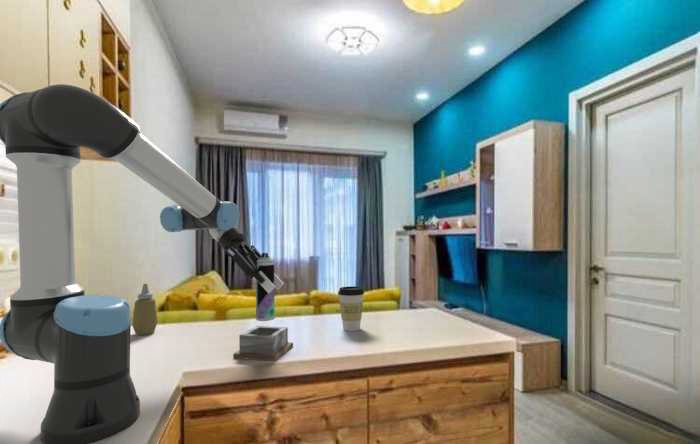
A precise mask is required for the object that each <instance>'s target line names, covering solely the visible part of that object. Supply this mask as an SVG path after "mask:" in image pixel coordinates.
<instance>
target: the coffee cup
mask: <svg viewBox="0 0 700 444" xmlns="http://www.w3.org/2000/svg"><path fill="white" fill-rule="evenodd" d="M337 294H338V296H339V297H338V298H339V308H340V315H341V316H340V317H341V320H342V321H341V322H342V328H343V329H342V330H343V331H346V332H357V331H359V330H360V329H361V321H362V314H363V306H364V305H363V304H364V294H365V291H364V289H363V287H362V286H355V285H354V286H342V287H340V288H339V290H338V291H337Z"/></svg>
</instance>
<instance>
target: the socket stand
mask: <svg viewBox="0 0 700 444" xmlns="http://www.w3.org/2000/svg"><path fill="white" fill-rule="evenodd" d="M288 335H289V334H288V327H287V326H285V327H283V326H267V325H266V326H265V325H264V326H263V325H256V326H254V327H252V328H250V329H247V331H245V332H243V333H240V334H239V335H238V336H239V340H238V341H239V344H238V345H239V346H238V347H239V350H237V351H235V352H234V353H233V355H232V356H233V357H234V358H233V357H232V358H233V359H241V358H248V359H247V360H255V359H260V360H259V361H269V360H270V362H271V361H272V362H276V361H277V360H278V359H279V358H281V357H282V356H283V355H284V354H286V353H288V351H290V350H291V349H292V348H293V347H294V342H288V341H289V340H288V338H289V336H288Z"/></svg>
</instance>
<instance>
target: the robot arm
mask: <svg viewBox="0 0 700 444" xmlns="http://www.w3.org/2000/svg"><path fill="white" fill-rule="evenodd" d="M140 127H141V126H139V124H138V123H137V122H135V121H134V120H133V119H132V118H130V117H129V116H128V115H127V114H126V113H125V112H123V111H122V110H121V109H120V108H118V107H117V106H116V105H114V104H112V103H111V102H109V101H108V100H107V99H104V98H103V97H101V96H100V95H97V94H96V93H95V92H92V91H89V90H88V89H85V88H83V87H79V86H76V85H72V84H62V83H61V84H59V83H58V84H51V85H48V86H45V87H43V88H40V89H36V90H32V91H29V92H27V91H26V92H22V93H19V94H18V93H17V94H13V95H12V96H10V97H9V98H7V99H6V100H4V101H2V102H1V103H0V141H1V142H2V143H3V145H5V146H4V148H5V157H6V158H7V160H8V161H10V162H11V163H12V164H14V165H15V167H16V179H17V181H16V184H17V189H16V190H17V212H18V214H17V215H18V220H17V221H18V247H19V251H18V252H19V278H20V279H19V281H20V286H19V288H18V289H17V290H16V291H14V293H13V294H12V295H10V299H9V303H10V304H9V305H10V307H9V308H10V309H9V310H8V312H6V314H4V315H3V317H2V319H1V321H0V342H1V344H2V345H3V347H4V348H5V349H6V350H7V351H9V352H10V353H11V354H13V355H15V356H17V357H20V358H22V359H24V360H30V361H40V362H45V363H50V364H53V365H54V366H53V367H54V370H53V372H54V373H53V379H54V381H53V391H52V392H53V393H52V396H51V398H50V401H49V404H48V406H47V410H46V413H45V416H44V418H43V419H42V422H41V425H40V437H39V438H40V442H41V443H42V444H88V443H91V442H95V441H99V440H102V439H104V438H107V437H110V436H112V435H114V434H116V433H118V432H121V431H123V430H124V429H126V428H127V427H129V426H131V425H132V424H133V423H134V422H135V421H136V420H137V419H138V418H139V416H140V414H141V401H140V397H139V396H138V394H137V391H136V388H135V386H134V382H133V379H132V377H131V370H130V369H131V325H132V316H131V306H130V303H129V302H128V301H127V300H126V299H124V298H122V297H119V296H115V295H110V294H109V295H108V294H107V295H105V294H104V295H99V294H89V295H88V294H87V295H85V287H83V286H82V285H80V284H79V283H78V282H76V270H75V269H76V266H75V265H76V264H75V263H76V262H75V261H76V260H75V237H74V236H75V234H74V233H75V232H74V230H75V229H74V203H73V202H74V201H73V200H74V199H73V172H72V171H73V169H74V168H75V167H76V166H78V165H79V164H80V163H81V148H85V149H88V150H90V151H93V152H95V153H97V154H98V155H99V156H101V157H102V158H103V159H106V160H113V159H114V160H115V161H117V162H118V163H120V165H122V166H123V167H125V168H126V169H128V170H129V171H131V173H133V174H135V175H136V176H137V177H139V178H140V179H142V180H143V181H144V182H146V183H147V184H149V185H150V186H151V187H152V188H154V189H156V191H158V192H159V193H161V194H162V195H164V196H166V197H167V198H168V199H170V200H171V201H172V202H174V203H175V204H174V205H173V204H172V205H170V206H168V205H167V206H166V207H163V209H162V210H161V212H160V215H159V219H160V225H161V226H162V228H163V229H164V230H165V231H166V232H168V233H180V232H182V231H201V230H202V231H204V230H205V231H207V232H208V233H209V234H210V235H211V239H213V240H215V241H216V242H218V245H219V246H220V247H221V248H222V249H223V250H224V251H225V252H226V253H225V254H226V255H227V256H228V257H230V258H231V259H232V261H234V263H236V265H237V267H239V269H240V270H241V271H242V272H243V273H244V275H245V276H247V277H248V278H249V279H250V280H252V279H253V278H254V279H255V281H256V280H257V281H258V282H259V283H260V285H261V286H262V287H263V288H264V289H265V290H266V291H267V292H268V293H270V292H271V291H272V290H273V289H274V290H280V289H281V288H282V287H283V285H284V284H285V283H284V282H283V281H282V280H281V278H280V277H279V276H278V275H277V274H276V273H275V272H274V284H273V283H272V282H271V281H270V280H269V279H268V278H267V277H266V276H265V275H264V273H263V272H262V271H260V272H259V270H258V269H257V267H256V261H258V260H259V259H260V257H261V256H262V253H261V252H259V250H258V249H257V248H256V247H255V245H253V244H251V246H250V245H249V244H248V243H246V242H245V241H244V239H245V233H244V232H243V231H241V230H240V229H239V227H238V226H237V225H238V224H239V220H240V218H241V217H240V216H241V215H240V209H239V207H238V206H237V204H236V203H234V202H232V201H225V200H224V201H221V200H220V199H219V198H218V197H216V196H215V195H214V194H213V193H212V192H210V191H209V190H208V189H207V188H205V187H204V186H203V185H202V184H201V183H200V182H198V181H197V180H196V179H195V178H194V177H193V176H192V175H190V174H189V173H188V172H187V171H186V170H185V169H184V168H182V167H181V166H180V165H179V164H177V163H176V162H175V161H174V160H173V159H172V158H170V157H169V156H168V155H167V154H166V153H164V152H163V151H162V150H161V149H160V148H158V147H157V146H156V145H155V144H154V143H153V142H152V141H150V140H149V139H148V138H147V137H145V136H144V135H143V134H142V133H141V129H140Z"/></svg>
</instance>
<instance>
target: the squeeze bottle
mask: <svg viewBox="0 0 700 444" xmlns="http://www.w3.org/2000/svg"><path fill="white" fill-rule="evenodd" d="M156 303H157V301H156V299H154V298H153V293H152V292H150V289H149V285H148V283H143V284H142V289H141V293H138V294H137V300H136V301H134V305H133V306H134V308H133V316H132V321H131V325H132V328H133V330H134V331H133V332H134V333H135V335H136V336H145V335H150V334H153V333H154V332H155V330H156V328H157V325H158V312H157V311H158V310H157V305H156Z"/></svg>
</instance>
